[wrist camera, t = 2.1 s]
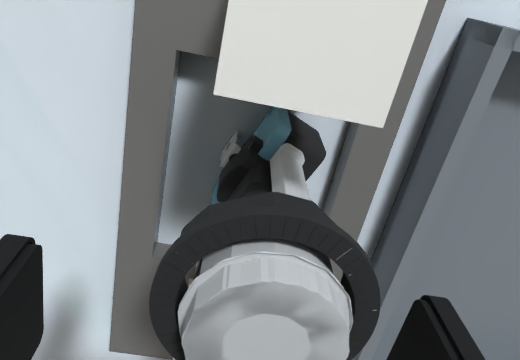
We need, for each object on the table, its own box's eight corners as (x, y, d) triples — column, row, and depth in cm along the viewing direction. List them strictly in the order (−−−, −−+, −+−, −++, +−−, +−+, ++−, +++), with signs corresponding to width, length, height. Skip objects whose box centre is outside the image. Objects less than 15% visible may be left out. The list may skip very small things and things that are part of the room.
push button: (257, 251, 20) (261, 480, 11) (156, 194, 19) (69, 404, 10) (350, 142, 18) (447, 322, 9) (242, 67, 16) (229, 192, 7)
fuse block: (462, -87, 14) (685, -140, 7) (303, 358, 23) (326, 539, 16) (157, -166, 13) (36, -327, 6) (116, 332, 22) (49, 512, 15)
